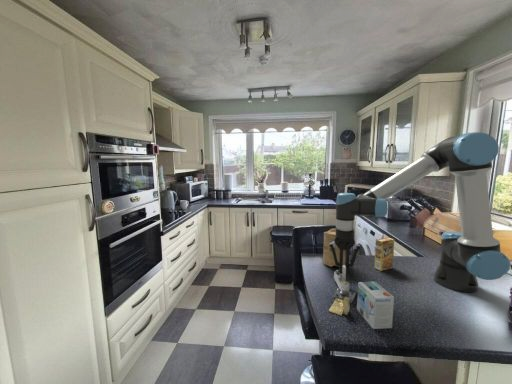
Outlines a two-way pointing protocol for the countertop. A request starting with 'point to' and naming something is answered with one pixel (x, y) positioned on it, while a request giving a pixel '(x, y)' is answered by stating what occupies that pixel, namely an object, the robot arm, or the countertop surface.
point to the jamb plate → (340, 296)
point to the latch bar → (341, 283)
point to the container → (327, 253)
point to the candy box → (384, 253)
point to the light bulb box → (375, 305)
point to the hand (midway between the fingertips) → (343, 280)
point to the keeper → (340, 306)
